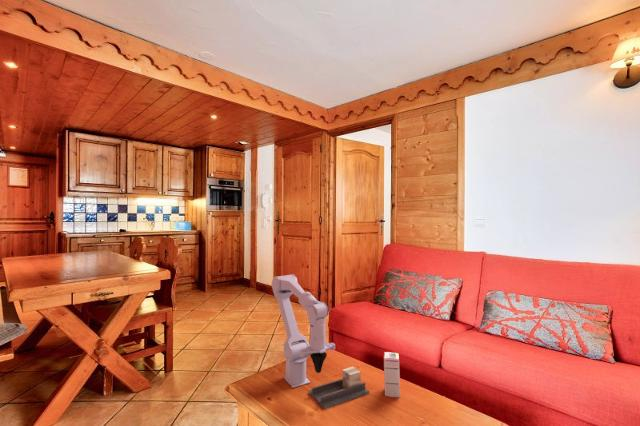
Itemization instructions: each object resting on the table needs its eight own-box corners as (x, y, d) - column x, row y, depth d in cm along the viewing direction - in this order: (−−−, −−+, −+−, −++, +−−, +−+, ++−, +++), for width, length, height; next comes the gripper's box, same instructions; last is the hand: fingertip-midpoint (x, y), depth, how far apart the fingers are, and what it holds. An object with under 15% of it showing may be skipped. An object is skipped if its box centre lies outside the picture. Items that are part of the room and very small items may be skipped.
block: (342, 384, 125) (342, 369, 125) (353, 381, 128) (353, 366, 128) (350, 390, 121) (349, 375, 121) (360, 387, 123) (360, 371, 123)
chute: (308, 392, 121) (308, 385, 121) (351, 379, 131) (351, 372, 131) (324, 409, 111) (324, 400, 111) (369, 393, 121) (369, 385, 121)
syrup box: (400, 397, 118) (400, 359, 118) (384, 396, 119) (383, 357, 119) (399, 389, 123) (399, 352, 124) (384, 388, 125) (383, 351, 125)
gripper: (305, 343, 112) (305, 381, 112) (339, 335, 119) (339, 371, 119) (297, 336, 118) (297, 372, 118) (329, 329, 125) (330, 363, 125)
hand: (318, 371), depth 119 cm, fingers closed
